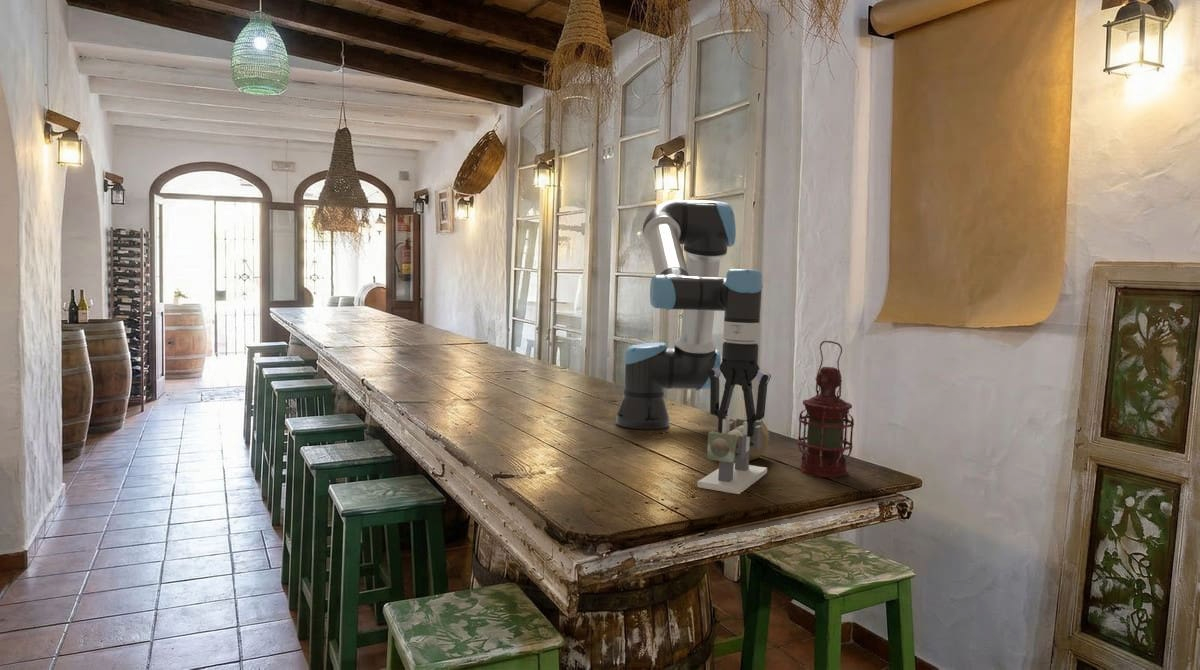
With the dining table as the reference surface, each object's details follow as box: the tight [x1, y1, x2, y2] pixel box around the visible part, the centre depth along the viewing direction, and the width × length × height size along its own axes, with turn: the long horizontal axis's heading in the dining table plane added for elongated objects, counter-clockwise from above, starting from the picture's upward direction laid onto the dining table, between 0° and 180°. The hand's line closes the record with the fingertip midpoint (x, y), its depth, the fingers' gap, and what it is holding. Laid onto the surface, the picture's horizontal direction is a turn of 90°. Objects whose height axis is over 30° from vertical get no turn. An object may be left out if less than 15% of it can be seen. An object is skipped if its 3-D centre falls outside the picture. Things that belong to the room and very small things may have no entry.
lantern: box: [797, 340, 855, 479], centre depth 181 cm, size 12×12×30 cm
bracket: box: [697, 421, 768, 495], centre depth 172 cm, size 20×9×11 cm, turn 152°
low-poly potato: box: [717, 417, 770, 462], centre depth 192 cm, size 15×11×12 cm
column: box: [706, 417, 763, 463], centre depth 172 cm, size 20×5×5 cm, turn 152°
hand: (735, 449), depth 172 cm, fingers closed on column, 4 cm apart
